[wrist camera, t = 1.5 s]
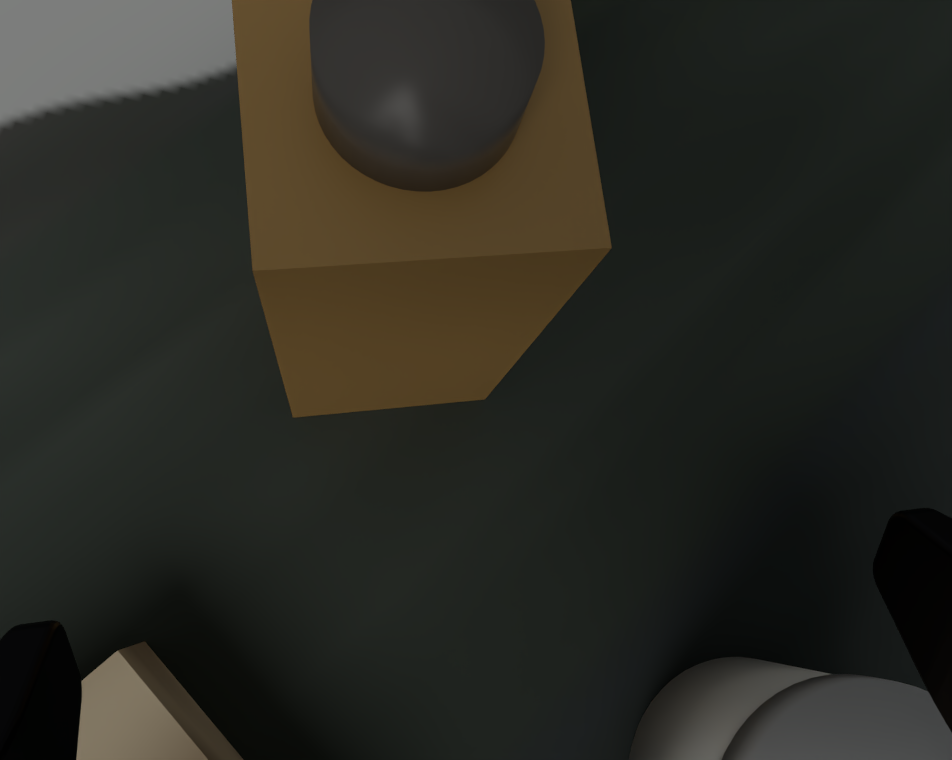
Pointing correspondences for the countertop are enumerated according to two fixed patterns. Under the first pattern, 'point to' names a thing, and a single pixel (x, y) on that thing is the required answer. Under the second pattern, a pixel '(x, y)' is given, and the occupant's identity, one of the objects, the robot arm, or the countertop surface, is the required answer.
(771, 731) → the white jar
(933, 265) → the countertop surface
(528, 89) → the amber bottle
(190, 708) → the beech block
